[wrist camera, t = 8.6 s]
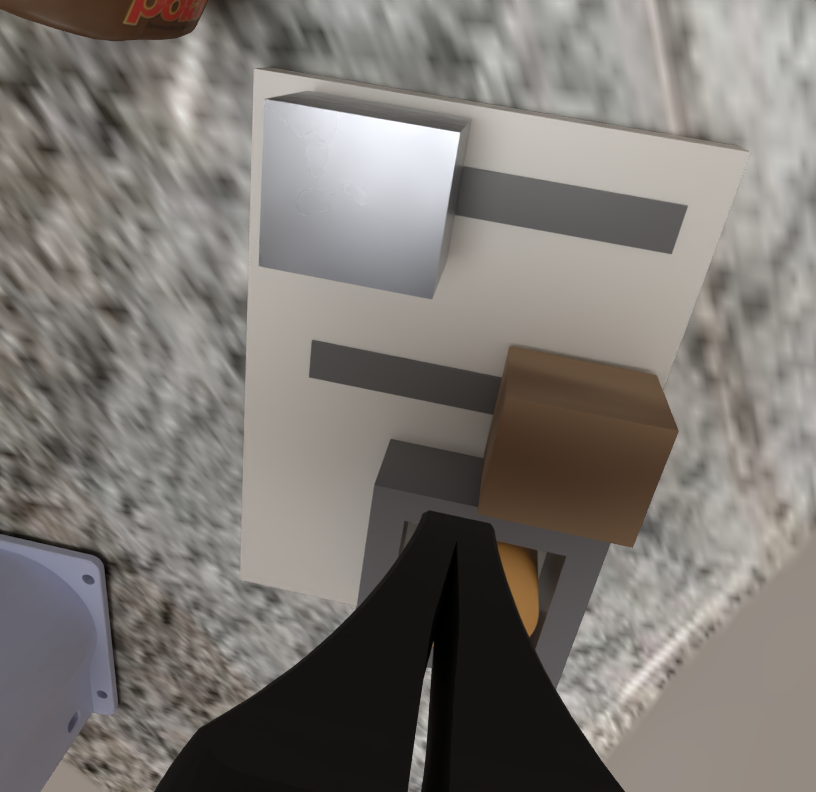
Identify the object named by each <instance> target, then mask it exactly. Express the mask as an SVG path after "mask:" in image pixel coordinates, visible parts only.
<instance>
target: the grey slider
mask: <svg viewBox="0 0 816 792" xmlns="http://www.w3.org/2000/svg"><path fill="white" fill-rule="evenodd" d="M471 120H472V118H466V117H460V116H454V115H449V114H443V113H437V112H431V111H425V110H419V109H413V108H407V107H402V106H396V105H390V104H384V103H378V102H372V101H366V100H360V99H355V98H349V97H343V96H337V95H331V94H325V93H319V92H313V91H303V92H298V93H292V94H287V95H282V96H277V97H272V98H266V99H264V122H263V151H262V180H261V208H260V237H259V266H260V267H265V268H270V269H275V270H281V271H286V272H291V273H296V274H301V275H307V276H312V277H317V278H322V279H327V280H333V281H338V282H343V283H348V284H354V285H359V286H364V287H369V288H374V289H380V290H385V291H390V292H395V293H401V294H406V295H411V296H416V297H421V298H427V299H433V296H434V294H435V291H436V288H437V286H438V283H439V281H440V278H441V275H442V273H443V270H444V268H445V265H446V263H447V258H448V252H449V247H450V241H451V235H452V229H453V224H454V218H455V212H456V206H457V201H458V195H459V189H460V183H461V178H462V172H463V166H464V160H465V155H466V149H467V143H468V137H469V132H470V126H471Z"/></svg>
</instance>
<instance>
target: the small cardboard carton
mask: <svg viewBox="0 0 816 792" xmlns="http://www.w3.org/2000/svg"><path fill="white" fill-rule="evenodd" d="M678 432H679V431H678V428H677V426H676V423H675V421H674V418H673V416H672V413H671V410H670V408H669V405H668V403H667V400H666V397H665V395H664V392H663V390H662V387H661V385H660V382H659V379H658V377H657V375H654V374H649V373H643V372H638V371H633V370H628V369H623V368H618V367H613V366H608V365H602V364H597V363H592V362H587V361H582V360H577V359H572V358H567V357H561V356H556V355H551V354H546V353H541V352H536V351H531V350H526V349H520V348H515V347H510V346H509V350H508V354H507V358H506V362H505V367H504V371H503V375H502V379H501V384H500V388H499V392H498V396H497V401H496V405H495V409H494V413H493V418H492V422H491V426H490V431H489V435H488V439H487V443H486V448H485V452H484V460H483V469H482V478H481V487H480V495H479V504H478V513H477V514H479V515H484V516H488V517H493V518H497V519H502V520H507V521H511V522H516V523H521V524H525V525H530V526H535V527H539V528H544V529H549V530H553V531H558V532H563V533H567V534H572V535H577V536H581V537H586V538H591V539H595V540H600V541H605V542H609V543H614V544H618V545H623V546H628V547H632V548H633V546H634V543H635V541H636V538H637V535H638V533H639V530H640V528H641V525H642V523H643V520H644V518H645V515H646V513H647V510H648V508H649V505H650V503H651V500H652V497H653V495H654V492H655V490H656V487H657V485H658V482H659V480H660V477H661V475H662V472H663V470H664V467H665V465H666V462H667V459H668V457H669V454H670V452H671V449H672V447H673V444H674V442H675V439H676V437H677V434H678Z"/></svg>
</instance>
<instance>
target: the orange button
mask: <svg viewBox="0 0 816 792" xmlns="http://www.w3.org/2000/svg"><path fill="white" fill-rule="evenodd" d="M497 546H498V550H499V554H500V558H501V562H502V565H503V569H504V572H505V575H506V578H507V581H508V584H509V587H510V590H511V593H512V595H513V598H514V601H515V604H516V606H517V609H518V612H519V614H520V617H521V619H522V622H523V624H524V626H525V629H526V631H527V633H528V635H529V637H530V636H531V634H532V633H533V631H534V630H535V627H536V625H537V621H538V614H539V601H538V551H537V550H536V549H531V548H527V547H522V546H517V545H513V544H508V543H504V542H499V541H497ZM433 646H434V642H433Z"/></svg>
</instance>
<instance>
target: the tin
mask: <svg viewBox="0 0 816 792" xmlns="http://www.w3.org/2000/svg"><path fill="white" fill-rule="evenodd" d="M207 2H208V0H0V9H2V10H4V11H7V12H9V13H11V14H14V15H16V16H19V17H21V18H24V19H27V20H30V21H34V22H37V23H40V24H43V25H46V26H49V27H52V28H55V29H59V30H62V31H66V32H69V33H73V34H77V35H80V36H84V37H88V38H92V39H99V40H109V41H124V40H142V39H146V40H164V39H173V38H178V37H181V36H184V35H186V34H188V33H191V32H192V31H193V30H194V29H195V27H196V25H197V24H198V21H199V19H200V17H201V15H202V13H203V11H204V8H205V6H206V4H207Z"/></svg>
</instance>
